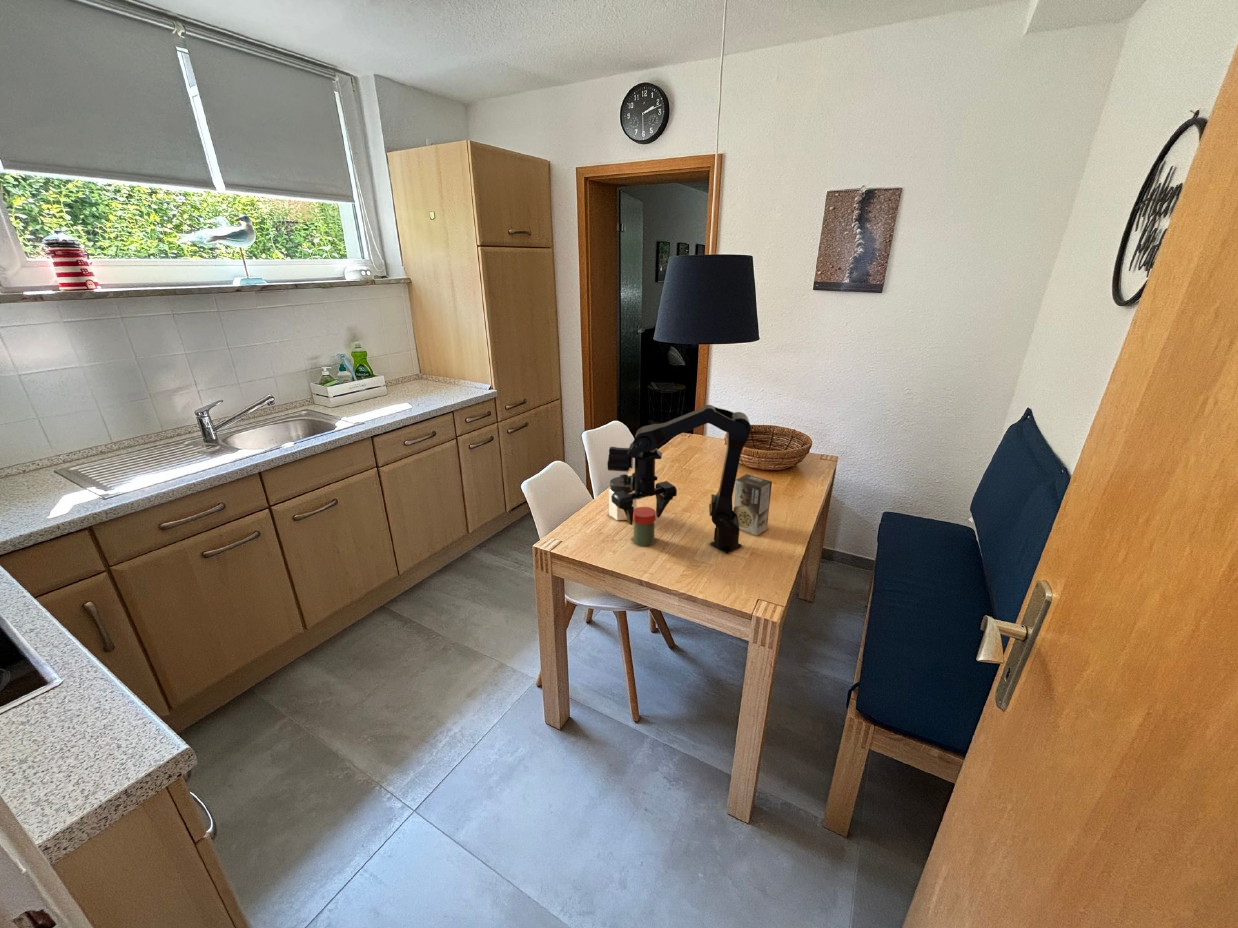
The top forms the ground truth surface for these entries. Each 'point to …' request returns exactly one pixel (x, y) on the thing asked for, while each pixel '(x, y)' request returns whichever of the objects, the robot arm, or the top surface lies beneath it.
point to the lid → (644, 515)
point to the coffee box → (752, 503)
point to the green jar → (644, 534)
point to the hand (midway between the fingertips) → (644, 520)
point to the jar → (613, 509)
